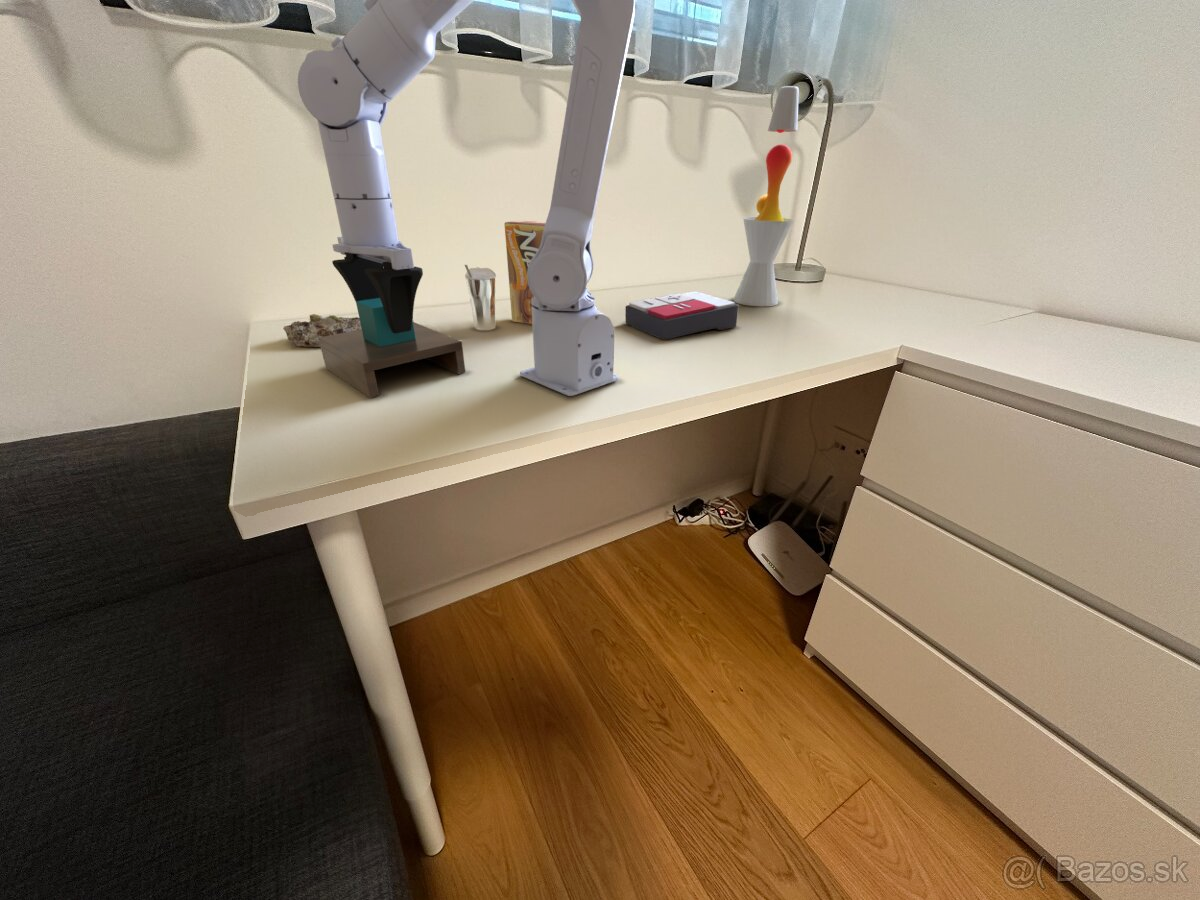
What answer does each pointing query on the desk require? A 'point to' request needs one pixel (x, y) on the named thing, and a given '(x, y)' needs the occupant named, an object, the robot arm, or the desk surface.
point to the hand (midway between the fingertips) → (387, 324)
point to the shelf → (386, 355)
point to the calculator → (681, 314)
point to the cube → (379, 324)
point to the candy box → (521, 264)
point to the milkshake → (482, 296)
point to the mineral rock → (319, 329)
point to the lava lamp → (769, 211)
